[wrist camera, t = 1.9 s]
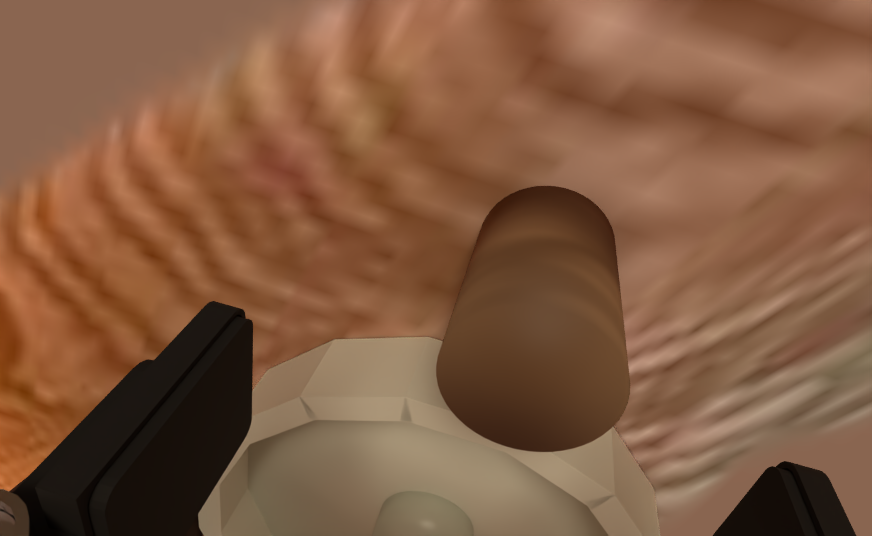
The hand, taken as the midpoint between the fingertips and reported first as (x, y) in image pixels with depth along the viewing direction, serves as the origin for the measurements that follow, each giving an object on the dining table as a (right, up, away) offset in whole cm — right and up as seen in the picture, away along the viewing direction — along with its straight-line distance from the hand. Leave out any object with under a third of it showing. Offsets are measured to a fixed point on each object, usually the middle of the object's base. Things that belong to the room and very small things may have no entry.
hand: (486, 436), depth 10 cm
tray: (-1, -7, +14) cm, 16 cm away
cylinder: (+2, +4, +7) cm, 8 cm away
